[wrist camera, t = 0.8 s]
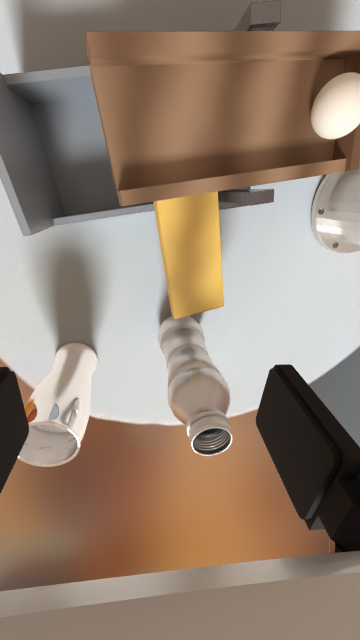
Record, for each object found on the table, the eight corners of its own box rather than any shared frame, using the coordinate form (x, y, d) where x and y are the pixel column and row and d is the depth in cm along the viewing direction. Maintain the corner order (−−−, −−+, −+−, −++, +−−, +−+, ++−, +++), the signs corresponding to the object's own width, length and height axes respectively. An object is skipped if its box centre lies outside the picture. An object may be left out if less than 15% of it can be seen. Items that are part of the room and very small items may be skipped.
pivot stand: (246, 55, 26) (311, -26, 16) (247, 204, 33) (294, 210, 23) (188, 62, 26) (220, -18, 16) (201, 211, 32) (229, 221, 22)
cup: (137, 86, 26) (138, 15, 15) (156, 206, 31) (166, 214, 21) (24, 99, 25) (-57, 34, 15) (63, 220, 30) (23, 236, 20)
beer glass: (109, 353, 40) (95, 436, 26) (85, 384, 41) (61, 475, 28) (66, 331, 37) (27, 410, 24) (43, 365, 39) (-5, 456, 25)
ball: (342, 83, 21) (391, 60, 18) (334, 141, 23) (378, 131, 20) (301, 85, 20) (346, 62, 17) (297, 145, 22) (336, 136, 19)
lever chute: (314, 66, 24) (382, 26, 19) (297, 263, 33) (340, 277, 27) (85, 75, 20) (85, 26, 14) (137, 303, 28) (149, 328, 23)
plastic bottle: (175, 300, 37) (209, 400, 20) (208, 325, 40) (264, 433, 22) (147, 332, 39) (156, 450, 21) (181, 354, 41) (213, 475, 24)
